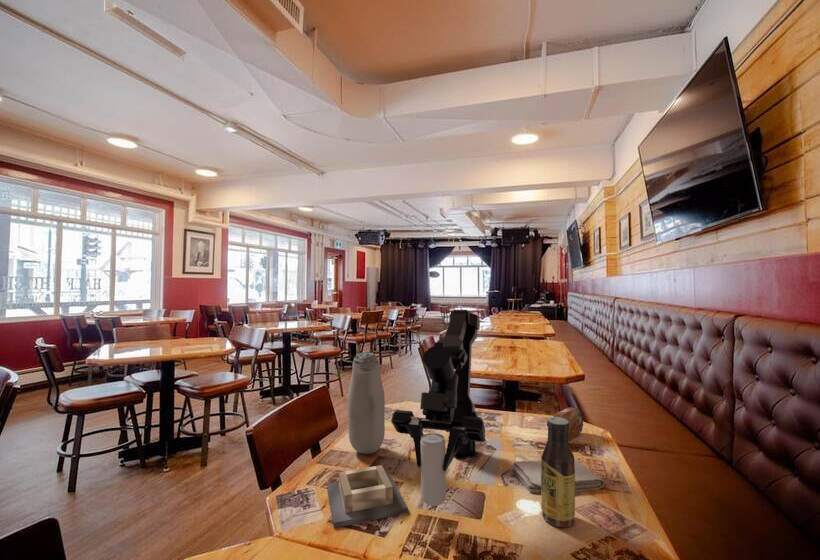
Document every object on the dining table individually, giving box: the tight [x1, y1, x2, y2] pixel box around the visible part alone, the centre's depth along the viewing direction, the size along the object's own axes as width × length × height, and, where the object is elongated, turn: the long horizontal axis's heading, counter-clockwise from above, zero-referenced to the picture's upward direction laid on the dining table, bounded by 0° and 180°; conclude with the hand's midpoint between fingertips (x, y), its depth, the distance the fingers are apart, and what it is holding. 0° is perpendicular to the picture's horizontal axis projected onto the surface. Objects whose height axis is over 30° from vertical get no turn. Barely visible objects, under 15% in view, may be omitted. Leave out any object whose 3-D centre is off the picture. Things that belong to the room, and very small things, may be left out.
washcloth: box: [512, 458, 606, 494], centre depth 90 cm, size 12×18×3 cm, turn 98°
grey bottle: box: [347, 351, 386, 455], centre depth 106 cm, size 10×10×28 cm
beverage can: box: [420, 432, 447, 507], centre depth 73 cm, size 5×5×12 cm
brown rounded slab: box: [552, 406, 584, 442], centre depth 113 cm, size 15×3×8 cm, turn 129°
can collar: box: [326, 465, 409, 529], centre depth 82 cm, size 15×15×4 cm
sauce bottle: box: [540, 416, 576, 528], centre depth 74 cm, size 7×6×20 cm
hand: (431, 468), depth 71 cm, fingers closed on beverage can, 5 cm apart
